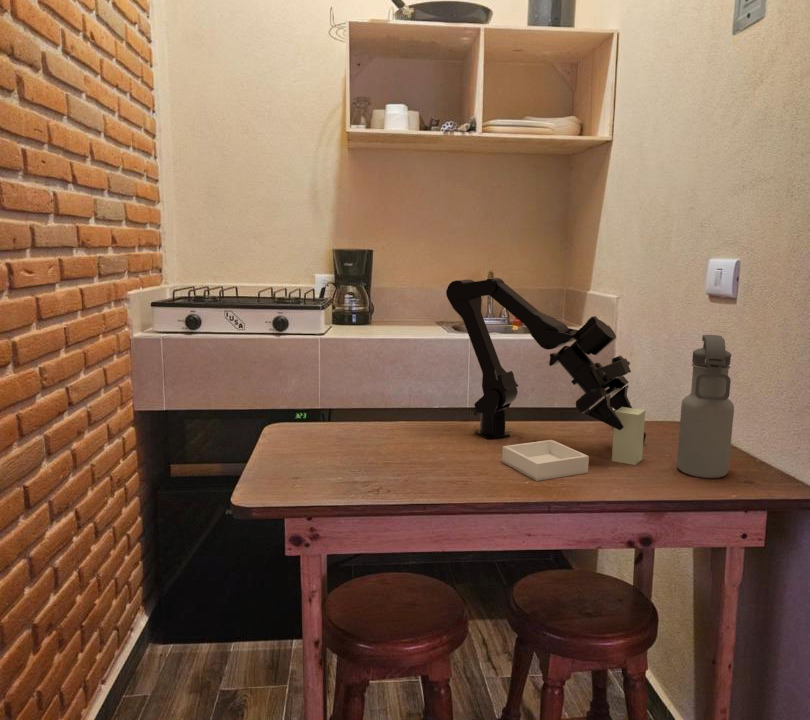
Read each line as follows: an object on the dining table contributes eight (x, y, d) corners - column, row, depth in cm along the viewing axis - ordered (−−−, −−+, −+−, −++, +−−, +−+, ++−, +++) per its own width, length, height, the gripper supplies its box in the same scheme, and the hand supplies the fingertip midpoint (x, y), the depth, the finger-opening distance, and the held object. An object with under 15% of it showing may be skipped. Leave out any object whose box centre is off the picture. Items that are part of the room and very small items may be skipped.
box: (502, 462, 143) (502, 446, 143) (550, 454, 148) (551, 439, 148) (536, 481, 132) (537, 464, 131) (587, 472, 137) (588, 456, 136)
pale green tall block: (611, 460, 144) (614, 411, 143) (619, 454, 148) (622, 406, 147) (635, 465, 142) (638, 414, 140) (642, 459, 146) (645, 410, 144)
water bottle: (732, 482, 132) (745, 341, 127) (678, 477, 134) (689, 339, 130) (723, 466, 141) (735, 334, 136) (674, 461, 144) (684, 332, 139)
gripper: (592, 350, 136) (644, 410, 132) (621, 340, 151) (669, 393, 147) (555, 383, 142) (603, 442, 138) (586, 370, 157) (631, 423, 153)
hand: (628, 424), depth 144 cm, fingers open, 9 cm apart
